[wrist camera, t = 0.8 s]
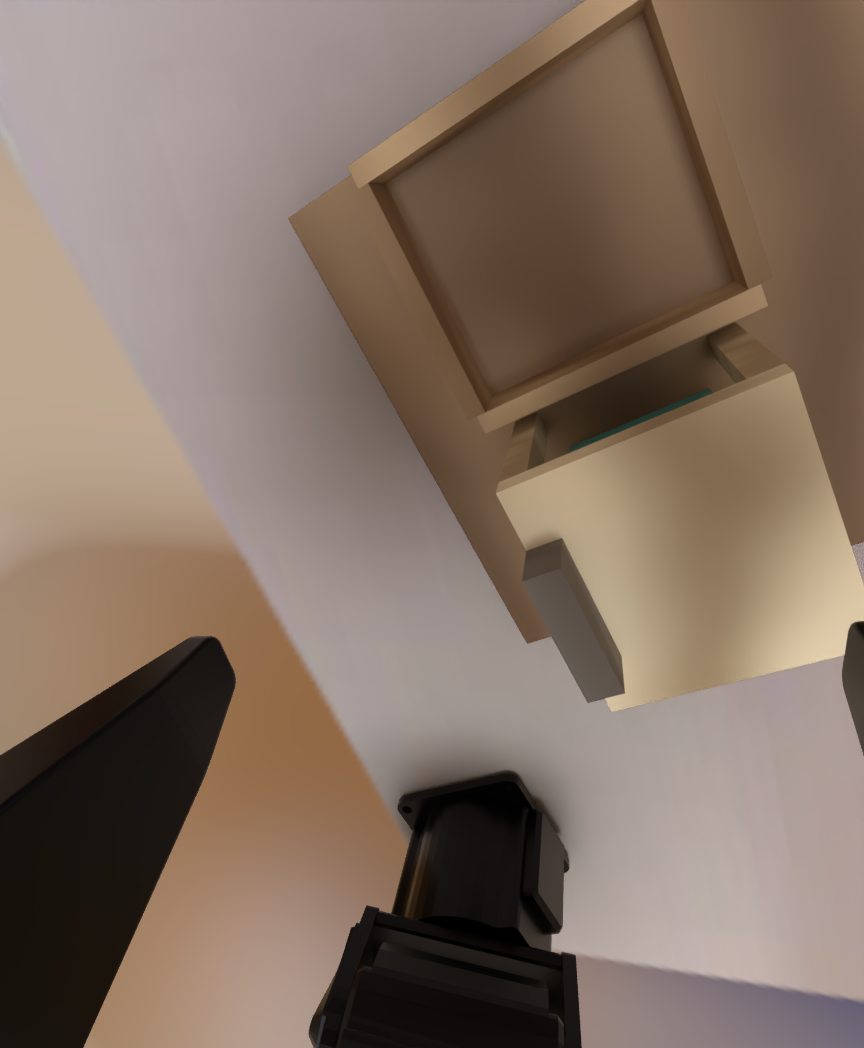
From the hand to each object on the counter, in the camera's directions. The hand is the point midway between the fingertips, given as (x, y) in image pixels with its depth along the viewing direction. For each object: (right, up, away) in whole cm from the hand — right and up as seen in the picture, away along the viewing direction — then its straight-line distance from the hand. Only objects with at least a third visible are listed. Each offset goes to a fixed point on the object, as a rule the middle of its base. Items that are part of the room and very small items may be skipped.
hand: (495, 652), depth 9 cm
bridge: (+7, +3, +12) cm, 14 cm away
